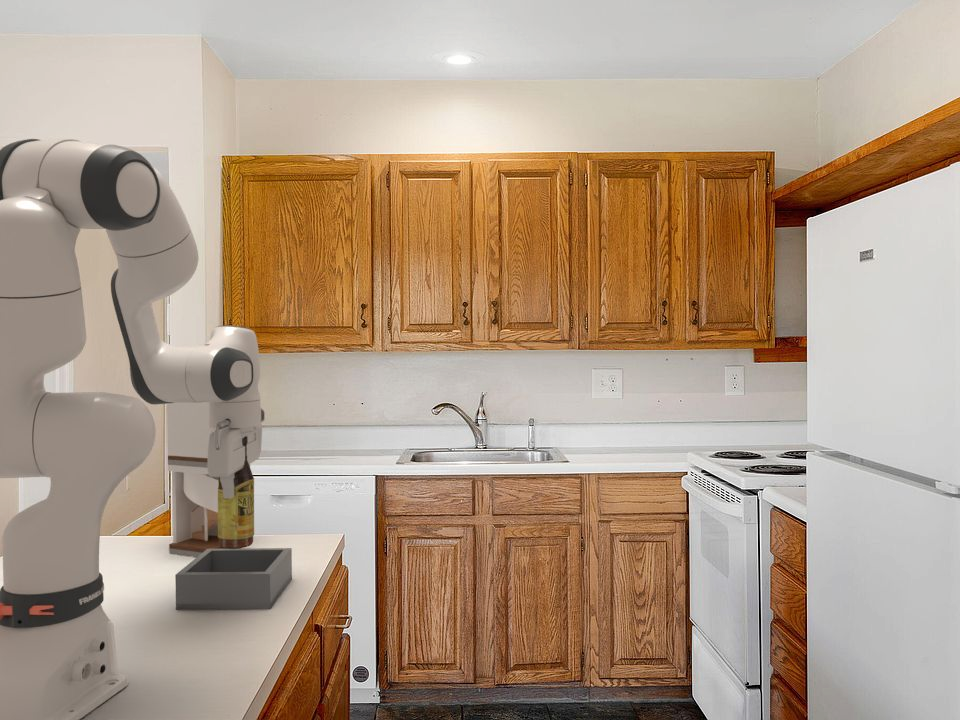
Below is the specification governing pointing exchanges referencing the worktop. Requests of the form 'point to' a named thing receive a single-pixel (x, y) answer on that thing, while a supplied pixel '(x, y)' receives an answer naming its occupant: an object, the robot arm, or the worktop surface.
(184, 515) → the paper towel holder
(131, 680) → the worktop surface
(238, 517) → the sauce bottle
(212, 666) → the worktop surface
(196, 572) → the box
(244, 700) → the worktop surface
